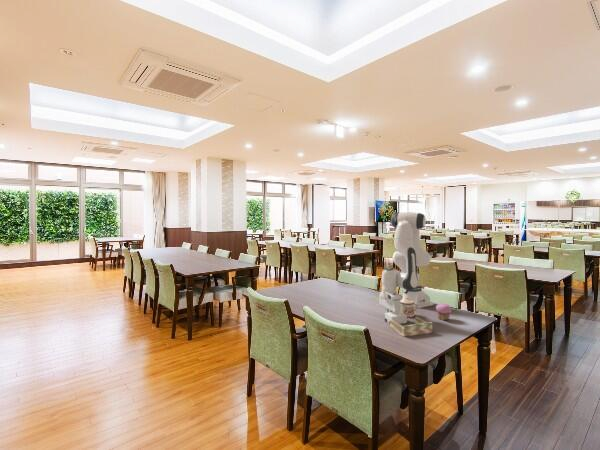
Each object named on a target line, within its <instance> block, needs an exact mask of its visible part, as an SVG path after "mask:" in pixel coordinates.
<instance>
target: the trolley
mask: <svg viewBox="0 0 600 450" xmlns="http://www.w3.org/2000/svg"><path fill="white" fill-rule="evenodd" d="M383 320H384V322H387V323H388V324H389V325H390V320H393V321H395V322H397V323H398V324H400V325H403V324H407V322H408V317H407V315H405V314H403V313H401V312H397V313H395V312H389V313H387V312H384V319H383ZM402 323H403V324H402Z"/></svg>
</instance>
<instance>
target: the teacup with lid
mask: <svg viewBox="0 0 600 450" xmlns="http://www.w3.org/2000/svg"><path fill="white" fill-rule="evenodd" d="M400 301H401V311H400V312H401V313H403V314H405V315H407V318H412V317H414V316H415V312H416V311H417V310H418V308H417V307H418V306H417V304H415V303H414V301H412V300H410V299H408V297H405V299H403V300H402V299H400ZM414 305H416V307H414Z"/></svg>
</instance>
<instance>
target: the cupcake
mask: <svg viewBox="0 0 600 450" xmlns="http://www.w3.org/2000/svg"><path fill="white" fill-rule="evenodd" d="M435 310H436V312H437V316H438V319H439V320H442V321H446V320H447V321H448V320H449V319H450V316H451V313H452V312H453V311H452V310H453V309H452V307H451V306H450V305H449V304H448V303H446V302H441V303H438V304H437V305H436V306H435Z"/></svg>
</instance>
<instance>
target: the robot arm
mask: <svg viewBox="0 0 600 450" xmlns="http://www.w3.org/2000/svg"><path fill="white" fill-rule="evenodd" d="M390 223H391V226H392V228H394V229H395V232H394V238H393V239H394V240H393V243H394V244H393V245H394V248H395V251H394V253H393V254H392V261H393V263H394V264H395V266H397V267H398V268H399V270H398V269H396V268H395V267H389V266H388V267H385V268H383V270H382V272H381V284H382V285H381V291H380V292H379V295H378V297H379V298H378V303H379V305H380V306H382V307H384V308H385V312H386V313H389V312H395V313H397V312H400V311H401V301H400V300H403V299H405V297H408V299H410V300H412V301H414V303H415V304H417V306H418V307H417V309H420V308H425V307H426V308H427V307H430V306H434V302H432V301H431V298H430V295H429V294H428V293H426V292H425V291H423V290H424V289H425V285H420V273H418V269H417V268H418V267H425V266H429V264H430V263H431V260H432V259H431V258H432V257H431V255H430V253H429V252H428V251H426V249H424V248H423V246H422V245H421V241H420V240H421V239H420V230H422V229H424V228H425V225H426V223H427V220H426V215H425V214H424V213H420V212H418V213H417V212H410V211H409V212H398V211H397V212H394V213H393V214H392V215H391V217H390ZM397 288H402V296H401V294H400V293H399V292H398V290H397ZM422 289H423V290H422ZM401 298H402V299H401ZM414 308H416V305H414Z"/></svg>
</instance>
